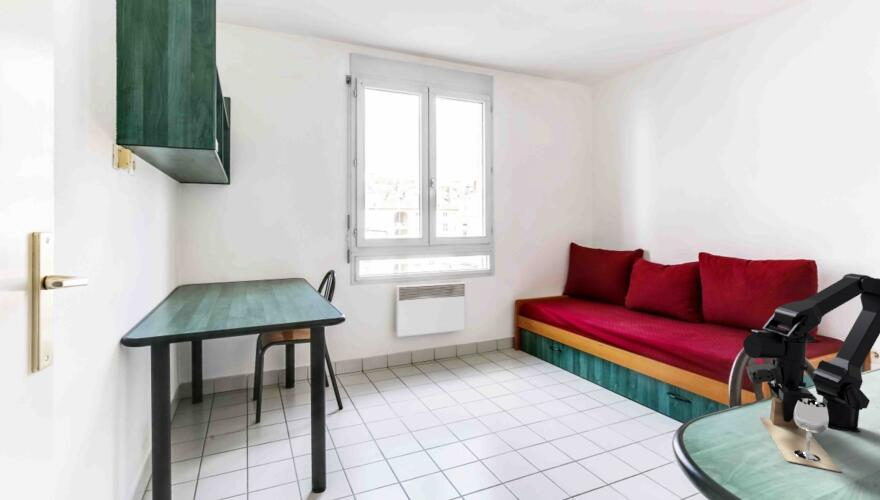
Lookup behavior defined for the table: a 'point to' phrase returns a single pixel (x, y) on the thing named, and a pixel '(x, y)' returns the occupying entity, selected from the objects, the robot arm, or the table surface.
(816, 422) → the wineglass
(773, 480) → the table surface
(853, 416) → the robot arm
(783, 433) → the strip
